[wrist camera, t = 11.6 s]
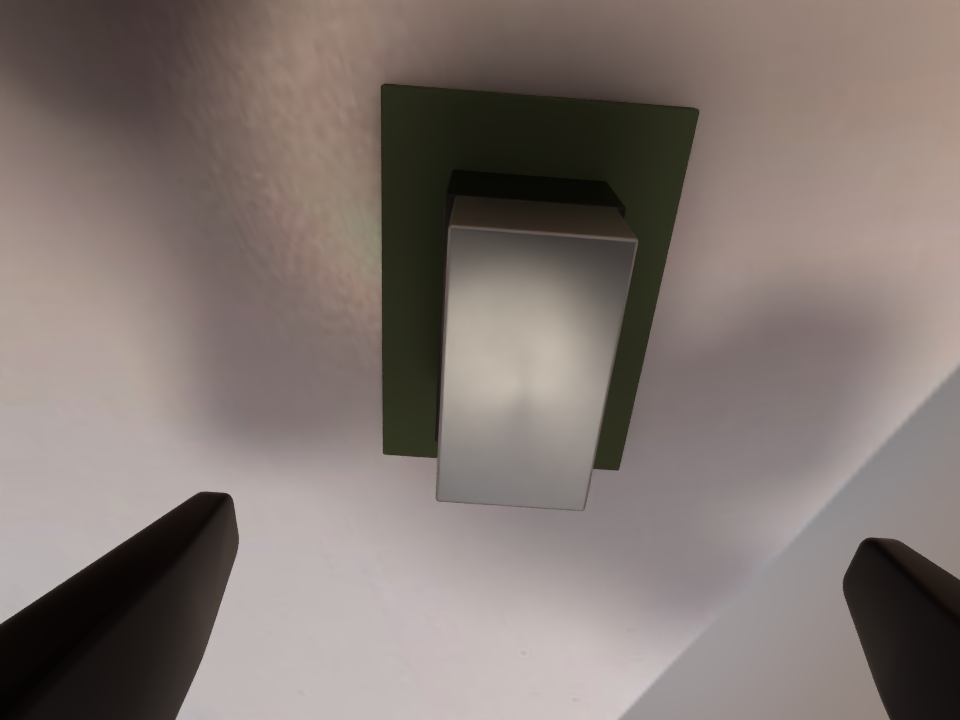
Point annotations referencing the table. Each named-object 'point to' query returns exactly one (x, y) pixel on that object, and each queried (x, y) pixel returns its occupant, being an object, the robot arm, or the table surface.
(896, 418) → the table surface
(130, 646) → the robot arm
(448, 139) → the mat
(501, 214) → the silver and black block
